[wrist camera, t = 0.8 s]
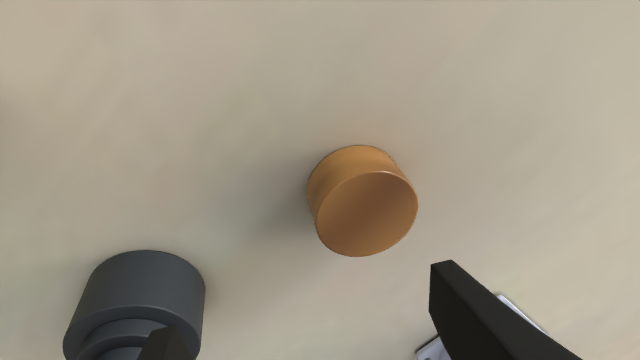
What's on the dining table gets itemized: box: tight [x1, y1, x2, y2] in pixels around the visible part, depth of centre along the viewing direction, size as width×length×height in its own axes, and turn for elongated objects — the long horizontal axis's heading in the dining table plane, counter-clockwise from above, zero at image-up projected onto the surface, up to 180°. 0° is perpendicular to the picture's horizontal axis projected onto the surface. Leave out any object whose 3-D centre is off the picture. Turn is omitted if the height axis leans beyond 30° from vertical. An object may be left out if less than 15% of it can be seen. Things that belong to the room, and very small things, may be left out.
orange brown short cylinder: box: [307, 146, 418, 257], centre depth 19 cm, size 5×5×3 cm
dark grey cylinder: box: [63, 250, 205, 360], centre depth 18 cm, size 6×6×6 cm
